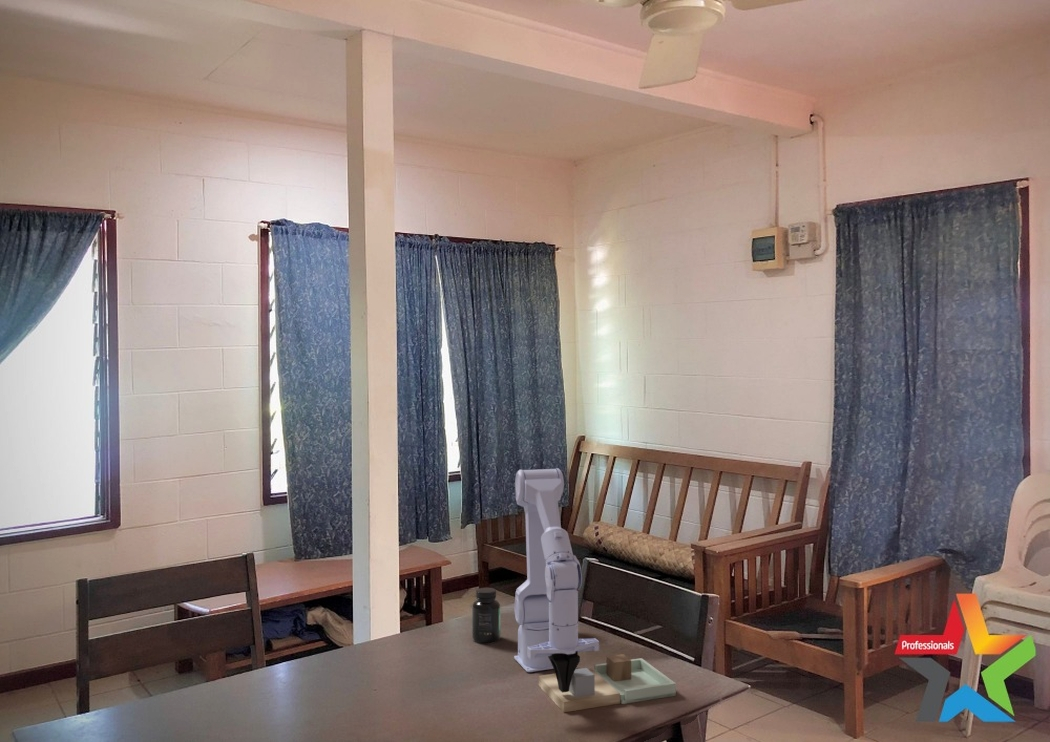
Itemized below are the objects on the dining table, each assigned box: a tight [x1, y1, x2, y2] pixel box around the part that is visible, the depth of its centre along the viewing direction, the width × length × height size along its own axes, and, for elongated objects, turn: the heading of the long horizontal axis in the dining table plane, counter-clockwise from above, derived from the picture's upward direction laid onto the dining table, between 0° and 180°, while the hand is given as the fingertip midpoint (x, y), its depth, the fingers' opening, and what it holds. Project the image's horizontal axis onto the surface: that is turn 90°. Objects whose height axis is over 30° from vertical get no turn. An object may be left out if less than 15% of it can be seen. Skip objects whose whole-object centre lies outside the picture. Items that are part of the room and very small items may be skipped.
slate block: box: [569, 667, 595, 698], centre depth 168 cm, size 4×4×4 cm
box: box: [594, 657, 677, 705], centre depth 176 cm, size 15×12×2 cm
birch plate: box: [538, 668, 621, 713], centre depth 172 cm, size 14×12×2 cm
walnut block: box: [605, 653, 632, 681], centre depth 180 cm, size 4×4×4 cm
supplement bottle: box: [471, 587, 502, 645], centre depth 205 cm, size 7×7×12 cm
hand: (563, 690), depth 167 cm, fingers closed
